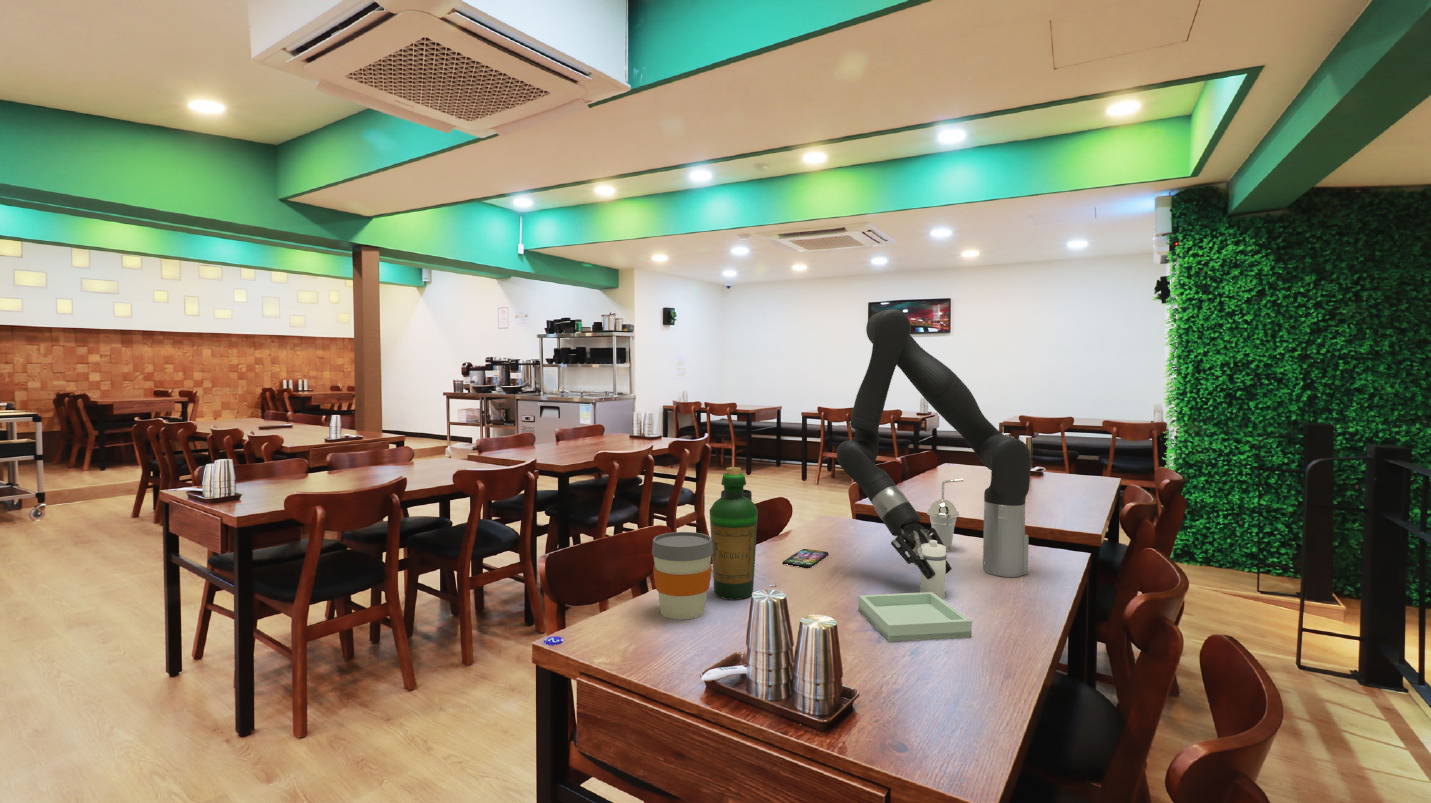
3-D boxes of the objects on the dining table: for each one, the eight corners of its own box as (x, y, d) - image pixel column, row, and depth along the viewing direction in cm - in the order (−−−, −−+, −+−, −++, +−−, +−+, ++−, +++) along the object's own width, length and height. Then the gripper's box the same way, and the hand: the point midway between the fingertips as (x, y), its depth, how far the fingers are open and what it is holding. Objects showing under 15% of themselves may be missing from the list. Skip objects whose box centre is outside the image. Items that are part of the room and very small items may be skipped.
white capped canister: (938, 591, 146) (939, 537, 145) (950, 599, 140) (951, 543, 140) (915, 592, 145) (916, 538, 145) (926, 600, 140) (927, 544, 139)
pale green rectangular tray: (932, 606, 137) (932, 592, 136) (971, 636, 121) (971, 621, 121) (858, 609, 135) (858, 595, 134) (888, 641, 119) (888, 625, 119)
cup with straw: (937, 543, 186) (938, 474, 185) (966, 550, 179) (967, 478, 178) (920, 548, 181) (921, 477, 180) (949, 555, 174) (951, 481, 173)
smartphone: (780, 562, 166) (802, 548, 179) (780, 566, 166) (802, 551, 180) (809, 566, 163) (830, 552, 176) (809, 570, 163) (830, 555, 176)
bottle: (700, 597, 142) (700, 469, 141) (723, 583, 152) (723, 463, 150) (745, 605, 137) (745, 473, 136) (765, 590, 147) (765, 466, 145)
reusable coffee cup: (706, 625, 126) (705, 548, 126) (644, 620, 129) (643, 545, 128) (718, 602, 139) (718, 533, 138) (661, 598, 141) (661, 530, 141)
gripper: (884, 504, 144) (931, 571, 135) (924, 497, 152) (970, 559, 143) (865, 524, 148) (909, 590, 139) (904, 515, 157) (948, 577, 148)
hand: (940, 574), depth 141 cm, fingers closed on white capped canister, 5 cm apart
